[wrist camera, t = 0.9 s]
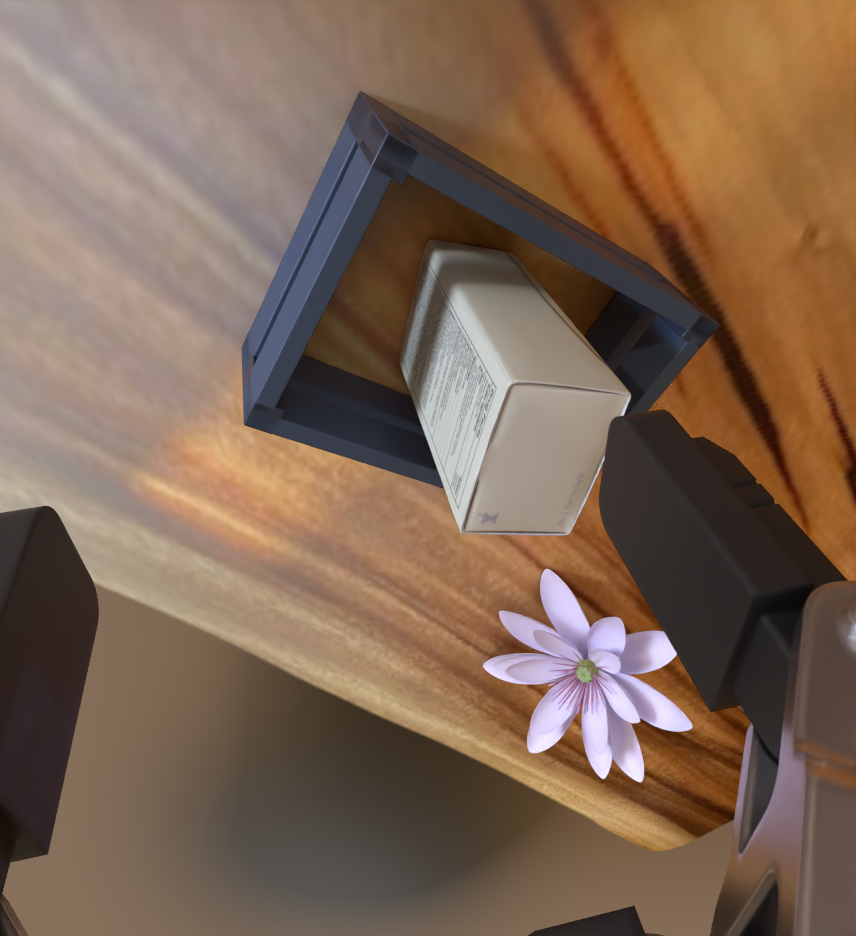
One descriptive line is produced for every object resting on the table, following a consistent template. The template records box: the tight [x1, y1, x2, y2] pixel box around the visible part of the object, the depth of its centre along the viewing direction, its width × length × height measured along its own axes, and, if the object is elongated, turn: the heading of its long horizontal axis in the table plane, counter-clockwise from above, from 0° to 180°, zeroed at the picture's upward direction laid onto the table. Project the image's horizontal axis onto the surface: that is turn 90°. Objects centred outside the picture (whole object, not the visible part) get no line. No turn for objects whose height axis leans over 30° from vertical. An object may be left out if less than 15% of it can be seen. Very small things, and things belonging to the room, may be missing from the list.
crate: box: [242, 92, 719, 488], centre depth 29 cm, size 16×12×6 cm
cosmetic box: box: [399, 239, 631, 536], centre depth 27 cm, size 6×4×12 cm
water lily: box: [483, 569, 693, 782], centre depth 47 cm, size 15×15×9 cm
